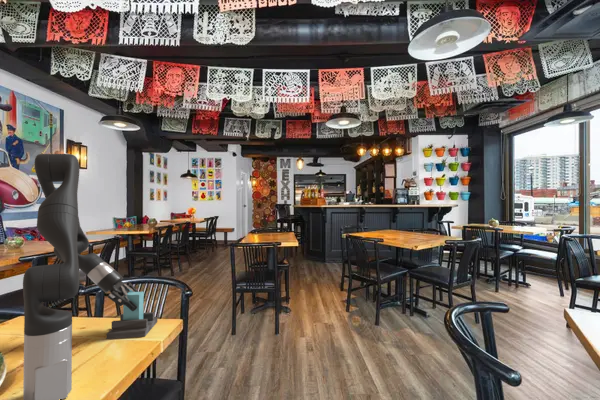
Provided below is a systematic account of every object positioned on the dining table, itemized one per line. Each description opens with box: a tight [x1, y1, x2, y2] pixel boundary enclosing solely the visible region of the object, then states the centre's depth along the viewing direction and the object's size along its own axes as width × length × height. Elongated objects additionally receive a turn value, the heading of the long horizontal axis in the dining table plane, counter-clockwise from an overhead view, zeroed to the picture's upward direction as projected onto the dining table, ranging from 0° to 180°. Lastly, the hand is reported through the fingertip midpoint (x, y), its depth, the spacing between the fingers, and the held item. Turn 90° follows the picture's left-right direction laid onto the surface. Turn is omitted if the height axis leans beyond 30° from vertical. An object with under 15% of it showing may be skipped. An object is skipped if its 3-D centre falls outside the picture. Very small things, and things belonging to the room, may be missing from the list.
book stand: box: [106, 311, 158, 340], centre depth 110 cm, size 13×13×5 cm
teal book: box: [122, 291, 145, 320], centre depth 110 cm, size 4×6×12 cm
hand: (138, 306), depth 111 cm, fingers open, 5 cm apart
